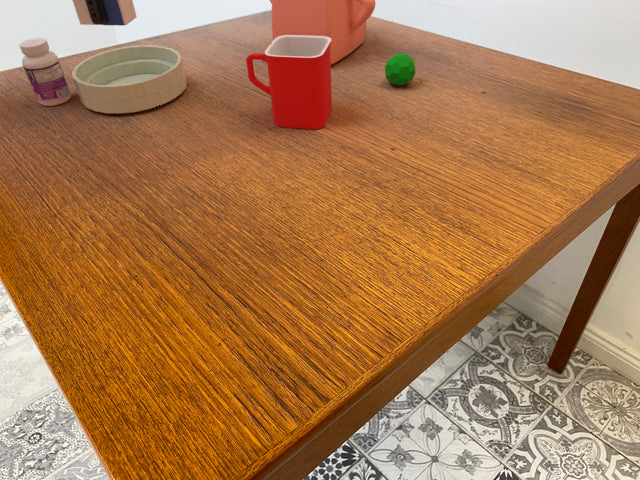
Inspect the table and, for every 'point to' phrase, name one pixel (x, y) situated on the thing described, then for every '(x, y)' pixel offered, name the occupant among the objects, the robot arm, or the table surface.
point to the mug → (297, 80)
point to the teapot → (324, 21)
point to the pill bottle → (44, 72)
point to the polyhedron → (400, 69)
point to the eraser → (108, 12)
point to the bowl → (130, 79)
